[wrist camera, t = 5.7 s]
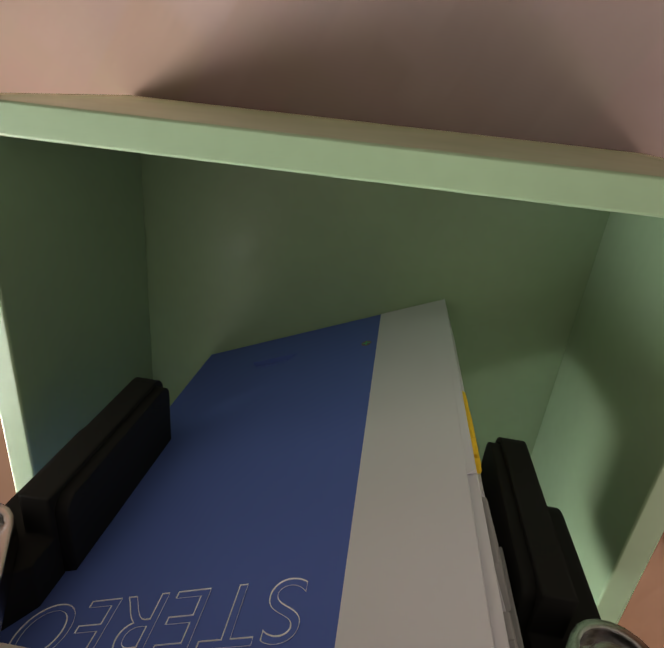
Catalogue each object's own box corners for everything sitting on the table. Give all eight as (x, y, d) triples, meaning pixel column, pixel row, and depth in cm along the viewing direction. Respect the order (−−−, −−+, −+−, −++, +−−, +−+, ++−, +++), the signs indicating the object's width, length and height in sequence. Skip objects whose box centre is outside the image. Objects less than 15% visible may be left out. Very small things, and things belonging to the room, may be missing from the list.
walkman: (240, 422, 18) (-29, 924, 7) (211, 353, 17) (-156, 804, 6) (467, 378, 16) (595, 972, 5) (447, 297, 15) (552, 808, 4)
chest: (128, 95, 15) (-69, 91, 9) (643, 153, 13) (833, 196, 7) (152, 480, 20) (44, 637, 14) (511, 546, 19) (556, 748, 13)
